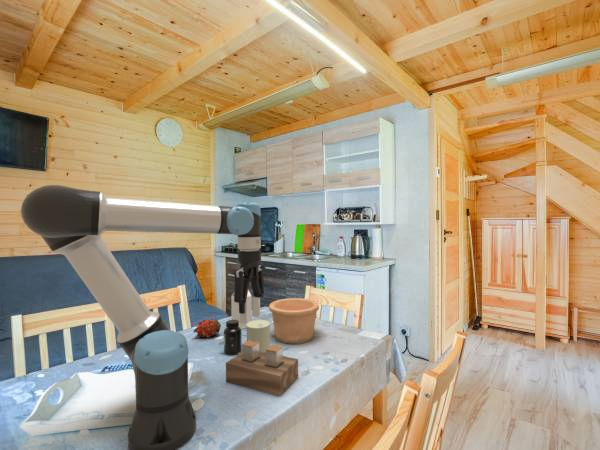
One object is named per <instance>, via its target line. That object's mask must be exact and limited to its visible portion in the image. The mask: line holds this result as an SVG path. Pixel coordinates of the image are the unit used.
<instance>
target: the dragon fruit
mask: <svg viewBox="0 0 600 450" xmlns="http://www.w3.org/2000/svg"><path fill="white" fill-rule="evenodd" d="M221 326H222V324H221V323H220V321H218V320H217V319H213V318H211V317H210V318H209V319H206V318H205V319H203V320H202V321H200V322H199V323H198V325H197V326H196V327H195V328H194V330H193V333H196V337H199V338H206V337H207V339H210V338H211V337H214V336H215V334H218V333H220V330H221Z"/></svg>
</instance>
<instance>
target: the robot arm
mask: <svg viewBox="0 0 600 450" xmlns="http://www.w3.org/2000/svg"><path fill="white" fill-rule="evenodd" d="M20 214H21V218H22V220H23V223H24V224H25V225H26V227H27V228H28V229H29V230H30V231H32V232H33V233H35V234H37V235H39V236H41V239H43V241H44V242H45V243H46V245H47V246H48V247H49V249H50V251H52V253H54V254H59V255H63V256H64V257H65V258H66V259H67V261H68V262H69V264H70V265H71V267H72V268H73V270H74V271H75V272H76V273H77V275H78V276H79V278H80V279H81V281H82V282H83V283H84V285H85V286H86V288H87V289H88V290H89V293H91V295H92V296H93V297H94V299H95V300H96V302H97V303H98V304H99V306H100V307H101V309H102V310H103V311H104V313H105V314H106V315H107V317H108V318H109V320H110V321H111V322H112V324H113V325H114V327H115V328H116V330H117V331H118V335H117V338H116V341H117V343H118V344H119V346H120V348H121V349H122V350H123V351H124V353H125V354H126V356H127V357H128V358H129V360H130V362H131V365H132V368H133V369H132V370H133V373H134V380H135V382H134V386H135V387H134V388H135V411H134V413H133V417H132V421H131V425H130V427H129V430H128V433H127V447H128V450H178V449H180V448H182V447H183V446H184V445H185V444H187V443H188V442H189V441H190V440H191V439H192V438H193V436H194V435H195V433H196V430H197V417H196V412H195V411H194V408H193V405H192V403H191V401H190V397H189V362H188V361H189V356H188V355H189V346H188V340H187V338H186V336H185V335H184V334H183V333H181V332H179V331H174V330H171V329H170V327H169V326H168V325H167V324H166V322H165V321H164V319H163V318H162V316H161V315H160V313H159V312H158V311H151V310H150V309H149V307H148V306H147V304H146V303H145V301H144V300H143V298H142V297H141V296H140V294H139V293H138V291H137V290H136V288H135V287H134V284H133V283H132V282H131V280H130V279H129V277H128V276H127V275H126V272H125V271H124V270H123V268H122V266H121V265H120V264H119V262H118V261H117V259H116V258H115V256H114V255H113V254H112V251H111V250H110V249H109V247H108V246H107V244H106V243H105V241H104V239H103V238H102V234H104V233H105V232H133V233H134V232H135V233H138V232H139V233H142V232H143V233H179V234H184V233H185V234H218V235H235V236H237V249H238V251H237V261H238V262H237V263H239V264H240V266H239V269H238V270H234V271H233V274H234V292H233V293H234V302H236V303H239V313H240V323H245V324H247V323H248V303H246V299H247V294H248V290H249V288H250V287H249V286H250V284H251V290H252V294H253V296H252V317H255V318H260V317H261V298H263V297H264V294H265V282H264V281H265V280H264V268H265V266H264V265H259V262H261V260H262V251H261V248H262V246H261V245H262V241H261V239H262V238H261V237H262V233H261V232H262V231H261V228H262V227H261V225H262V224H261V223H262V219H261V218H262V216H261V215H262V213H261V206H260V204H259V203H258V202H238V203H237V205H235V206H228V205H227V206H226V205H216V204H215V205H213V204H211V205H210V204H202V203H201V204H199V203H190V202H189V203H188V202H177V201H176V202H175V201H164V200H163V201H162V200H151V199H149V200H148V199H138V198H135V199H134V198H126V197H125V198H124V197H114V196H113V197H112V196H106V195H105V194H104V193H103V192H102V191H98V190H97V191H96V190H95V191H94V190H89V189H88V190H86V189H80V188H75V187H74V188H73V187H69V186H66V185H60V184H49V185H43V186H40V187H37V188H36V189H34V190H32V191H31V192H29V194H27V195H26V196H25V198H24V199H23V201H22V204H21V208H20Z"/></svg>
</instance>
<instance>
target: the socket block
mask: <svg viewBox="0 0 600 450" xmlns="http://www.w3.org/2000/svg"><path fill="white" fill-rule="evenodd" d="M298 378H299V359H298V358H294V357H290V356H284V355H283V364H282V365H281V366H279V367H278V368H273V367H268V366H266V352H261V351H259V359H257V360H256V361H255V362H253V363H251V362H247V361H242V352H240V353H239V354H236V356H234V357H233V358H231V359H230V360H228V361H226V362H225V382H226V383H227V382H228V383H232V384H234V385H238V386H241V387H245V388H248V389H253V390H256V391H259V392H263V393H268V394H271V395H274V396H277V397H281V396H282V395H283V394H284V393H285V392H286V391H287V390H288V389H290V387H291V386H292V385H293V383H295V382H296V380H297V379H298Z"/></svg>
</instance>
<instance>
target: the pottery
mask: <svg viewBox="0 0 600 450" xmlns="http://www.w3.org/2000/svg"><path fill="white" fill-rule="evenodd" d="M319 309H320V305H319V303H318V302H317V301H316V300H312V299H309V298H301V297H300V298H299V297H297V298H296V297H294V298H292V297H291V298H289V297H288V298H282V299H277V300H274V301H272V302H271V303H269V305H268V310H269V311H270V312H271V315H272V323H273V330H274V334H275V336H274V337H275V339H276V340H277V341H278V342H280V343H283V344H287V345H298V344H299V345H301V344H304V343H308V342H309V341H311V340H312V339H313V338H314V332H315V325H316V317H317V312H318V311H319Z"/></svg>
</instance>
